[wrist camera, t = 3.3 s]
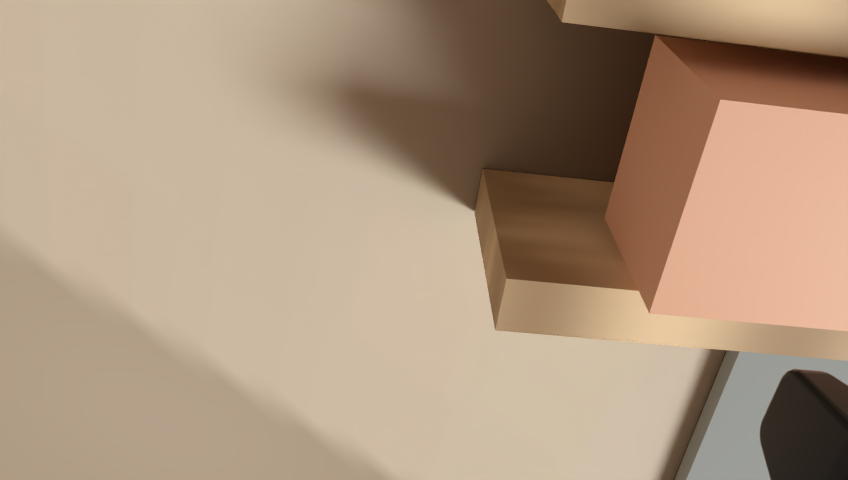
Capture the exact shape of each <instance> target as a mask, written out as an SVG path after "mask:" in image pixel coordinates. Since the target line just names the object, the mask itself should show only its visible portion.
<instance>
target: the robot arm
mask: <svg viewBox="0 0 848 480" xmlns="http://www.w3.org/2000/svg"><path fill="white" fill-rule="evenodd" d="M760 443H761V447H762V451H763V454H764V458H765V462H766V465H767V469H768V472H769V476H770V480H848V385H846V384H845V383H843V382H842V381H840V380H839V379H837V378H836V377H834V376H833V375H831V374H829V373H827V372H823V371H815V370H803V369H792V370H789V371H788V372H786V373H785V374H784V375H783V377H782V378H781V380H780V382H779V384H778V387H777V389H776V391H775V393H774V395H773V397H772V400H771V402H770V404H769V406H768V408H767V410H766V413H765V415H764V417H763V419H762V422H761V426H760Z"/></svg>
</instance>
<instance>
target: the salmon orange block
mask: <svg viewBox="0 0 848 480" xmlns="http://www.w3.org/2000/svg"><path fill="white" fill-rule="evenodd" d="M605 221H606V223H607V225H608V227H609V229H610V231H611V233H612V235H613V238H614V240H615V242H616V244H617V246H618V248H619V250H620V252H621V255H622V257H623V259H624V261H625V263H626V265H627V267H628V269H629V272H630V274H631V276H632V278H633V280H634V282H635V284H636V286H637V289H638V291H639V293H640V295H641V297H642V299H643V301H644V303H645V306H646V308H647V310H648V312H649V313H650V314H661V315H672V316H683V317H694V318H705V319H716V320H727V321H738V322H749V323H760V324H772V325H783V326H794V327H805V328H816V329H827V330H838V331H848V59H847V58H839V57H831V56H823V55H815V54H806V53H798V52H790V51H782V50H774V49H766V48H758V47H749V46H741V45H733V44H725V43H717V42H709V41H701V40H692V39H684V38H676V37H668V36H660V35H655V38H654V41H653V45H652V49H651V52H650V56H649V59H648V63H647V67H646V70H645V74H644V77H643V81H642V85H641V88H640V92H639V95H638V99H637V103H636V106H635V110H634V113H633V117H632V121H631V124H630V128H629V131H628V135H627V139H626V142H625V146H624V149H623V153H622V157H621V160H620V164H619V167H618V171H617V175H616V178H615V182H614V185H613V189H612V193H611V196H610V200H609V203H608V207H607V211H606V214H605Z"/></svg>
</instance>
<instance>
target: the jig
mask: <svg viewBox="0 0 848 480" xmlns="http://www.w3.org/2000/svg"><path fill="white" fill-rule="evenodd" d="M547 1H548V3H549V4H550V6H551V7H552V9H553V10H554V11H555V13H556V14H557V16H558V17H559V19H560V20H561V22H564V23H573V24H581V25H589V26H597V27H605V28H613V29H621V30H630V31H638V32H646V33H654V34H662V35H670V36H678V37H686V38H695V39H703V40H711V41H719V42H727V43H735V44H743V45H752V46H760V47H768V48H776V49H784V50H785V51H790V52H798V53H806V54H815V55H823V56H831V57H839V58H847V59H848V0H547ZM613 185H614V182H605V181H595V180H586V179H576V178H567V177H557V176H547V175H538V174H528V173H519V172H509V171H500V170H490V169H482V175H481V180H480V186H479V191H478V197H477V202H476V208H475V217H476V223H477V229H478V235H479V240H480V246H481V252H482V257H483V263H484V269H485V274H486V280H487V286H488V291H489V297H490V303H491V308H492V314H493V320H494V325H495V330H499V331H510V332H522V333H534V334H545V335H557V336H568V337H580V338H591V339H603V340H614V341H626V342H637V343H649V344H660V345H672V346H683V347H695V348H707V349H718V350H730V351H741V352H753V353H764V354H776V355H787V356H799V357H810V358H822V359H833V360H845V361H848V331H838V330H827V329H816V328H805V327H794V326H783V325H772V324H760V323H749V322H738V321H727V320H716V319H705V318H694V317H683V316H672V315H661V314H650V313H649V312H648V310H647V308H646V306H645V303H644V301H643V299H642V297H641V295H640V293H639V291H638V289H637V286H636V284H635V282H634V280H633V278H632V276H631V274H630V272H629V269H628V267H627V265H626V263H625V261H624V259H623V257H622V255H621V252H620V250H619V248H618V246H617V244H616V242H615V240H614V238H613V235H612V233H611V231H610V229H609V227H608V225H607V223H606V221H605V214H606V211H607V207H608V203H609V200H610V196H611V193H612V189H613Z"/></svg>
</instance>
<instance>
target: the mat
mask: <svg viewBox="0 0 848 480" xmlns="http://www.w3.org/2000/svg"><path fill="white" fill-rule="evenodd" d="M792 369H803V370H815V371H823V372H827V373H829V374H831V375H833V376H834V377H836V378H837V379H839V380H840V381H842V382H843V383H845V384H846V385H848V361H845V360H833V359H822V358H810V357H799V356H787V355H776V354H764V353H753V352H741V351H730V350H727V352H726V354H725V356H724V359H723V361H722V364H721V366H720V369H719V371H718V374H717V376H716V379H715V381H714V383H713V386H712V388H711V391H710V393H709V396H708V398H707V401H706V403H705V406H704V408H703V411H702V413H701V415H700V418H699V420H698V423H697V425H696V428H695V430H694V433H693V435H692V438H691V440H690V443H689V445H688V447H687V450H686V452H685V455H684V457H683V460H682V462H681V465H680V467H679V470H678V472H677V475H676V477H675V479H674V480H770V476H769V472H768V469H767V465H766V462H765V458H764V454H763V451H762V447H761V443H760V426H761V422H762V419H763V417H764V415H765V413H766V410H767V408H768V406H769V404H770V402H771V400H772V397H773V395H774V393H775V391H776V389H777V387H778V384H779V382H780V380H781V378H782V377H783V375H784V374H785V373H786V372H788V371H789V370H792Z"/></svg>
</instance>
